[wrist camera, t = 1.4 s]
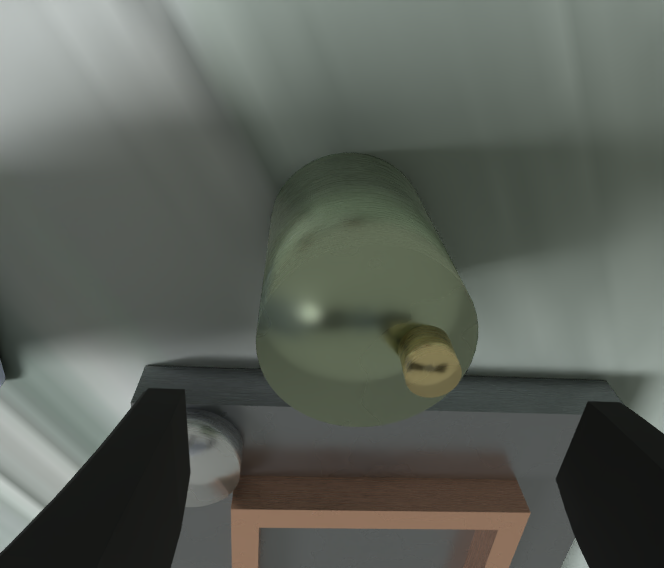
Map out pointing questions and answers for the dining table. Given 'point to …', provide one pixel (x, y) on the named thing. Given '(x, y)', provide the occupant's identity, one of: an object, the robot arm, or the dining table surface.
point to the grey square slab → (376, 476)
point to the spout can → (360, 297)
